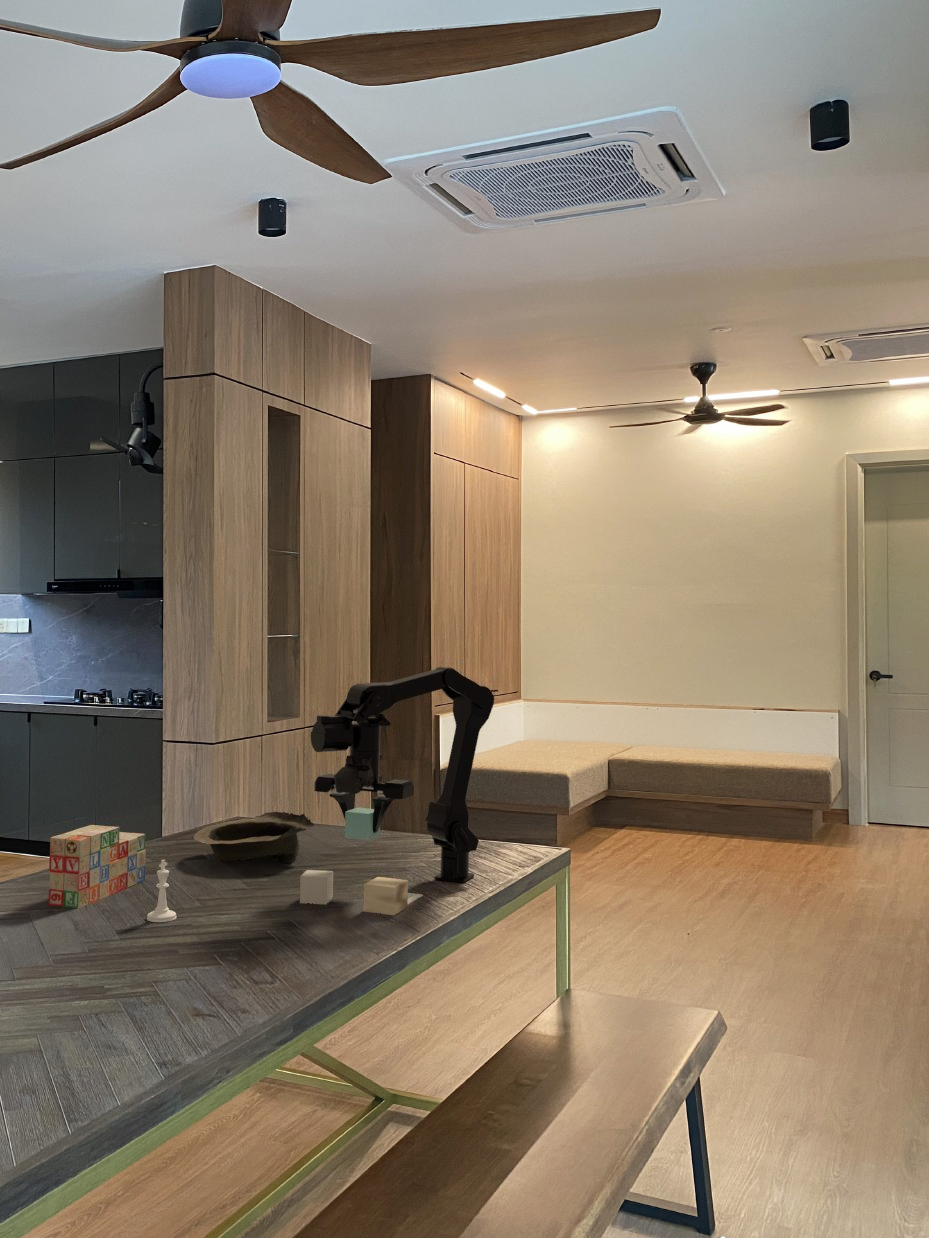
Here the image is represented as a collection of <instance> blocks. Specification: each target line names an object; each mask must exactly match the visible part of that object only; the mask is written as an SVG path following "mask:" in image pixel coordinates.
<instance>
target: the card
mask: <svg viewBox="0 0 929 1238" xmlns="http://www.w3.org/2000/svg"><path fill="white" fill-rule="evenodd" d="M423 896H424V894H421V893H413V892H412V893H411V892H408V902H407V905H410V904H412V903H413V902H415V901H417V900H418V899H420V898H422V897H423Z"/></svg>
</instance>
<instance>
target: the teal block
mask: <svg viewBox="0 0 929 1238" xmlns="http://www.w3.org/2000/svg"><path fill="white" fill-rule="evenodd" d="M373 817H374V808H365V807H355V808H354V809H351V810H349V811H346V812H345V819H344V838H345V839H350V840H351V839H353V840H362V841H370V840H373V839H375V838H378V837H380V836H381V826H380V827H379V829H378V832H377V833H373Z"/></svg>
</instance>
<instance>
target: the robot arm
mask: <svg viewBox="0 0 929 1238" xmlns="http://www.w3.org/2000/svg"><path fill="white" fill-rule="evenodd" d="M438 690H441V691H442V692H443V694H444V695H445V696H447V697H448V698H449V699H450V700H452V713H453V714H452V715H453V719H454V722H455V729H454V735H453V739H452V745H451V750H450V754H449V759H448V763H447V768H446V773H445V774H446V775H445V779H444V782H443V783H444V784H443V787H442V791H441V792H442V793H441V794H440V797H439V798H438V799H437V801H436V802H435V801H429V804H428V813H427V816H426V818H425V820H424V821H425V822H427V824H426V830H427V831H428V833H429V835H430V836H431V837H432V840H433V844H434V845H435V846H439V847H440V873H438V874H436V875H435V876H433V877H434V880H437V881H438V880H439V881H445V882H446V881H449V882H455V883H456V882H457V883H465V882H467V881H469V880H470V879H471V878H473V877H474V876H475V873H472V872H469V871H470V866H469V865H470V853H471V852H474V851H477V848H478V845H479V839H478V837H476V835H475V834H474V833H473V832H472V831H471V830H470V829H469V823H470V821H469V820H470V813H469V809H468V806H467V805H468V804H467V801H466V799H467V793H468V789H469V784H470V779H471V774H472V769H473V765H474V759H475V754H476V750H477V745H478V739H479V735H480V731H481V730H482V728H483V727H484V725H485V724H486V722H488V720H489V718H490V715H491V714H492V710H493V707H494V705H495V695H494V694H493V692H492V690H491V689H490V688H489V687H488V686H485V685H480V684H479V683H477V682H476V681H474V680H472V679H470V678H468V677H466V676H465V675H463V674H461V673H460V672H458V670H456V669H455V668H453V667H449V666H448V667H445V666H438V667H436V668H434V669H431V670H427V671H425V672H421V673H418V674H413V675H410V676H409V675H408V676H405V677H403V678H400V679H399V678H398V679H396V680H391V681H386V682H382V681H381V682H364V683H362V682H361V683H355V684H353V685H352V686H351V687H350V688H349V690H348V692H347V696H346V699H344V702H343V703H342V704H341V706H340V707H339V709H338V710H337V712H336V713H335V715H322V714H320V715H317V716H316V722H315V723H314V724H313V726H312V730H311V731H310V743H311V746H312V748H313V750H314V752H316V753H326V752H327V753H328V752H344V751H347V750H348V749H349V755H346V758H345V765H344V766H343V767H340V769H338V771H337V772H336V773H334V774H333V773H326V774H323V775H319V776H317V777H316V778H315V781H314V784H313V785H314V786H313V788H314V791H313V792H316V793H317V792H319V793H329V792H330V793H329V794H328V795H329V797H330V798H333V799H334V800H335V801H336V802H337V803H338V805H339V807H340V809H341V810H340V811H341V812H342V816H343V819H344V820H345V812H346V811H349V810H351V809H354V808H356V805H355V803H356V795H358V794H359V793H361V792H372V793H377V796H376V797H373V798H371V800H372V804H373V809H374V817H373V833H377V832H378V829H379V827H380V828H381V825H382V822H383V820H384V817H385V815H386V813H387V811H388V810H389V808H390V805H391V804H392V803H393V801H396V800H404V799H406V798H410V797H411V796H414V792H415V791H414V790H415V786H414V784H413V782H412V780H407V779H392V780H389V781H385V782H382V781H383V776H382V775H380V761H382V760H383V753H381V749H380V748H381V727H390V726H391V725H392V723H391V721H389V720H388V719H387V718H386V717H385V715H384V713H383V712H385V711H387V710H389V709H391V708H392V707H393V706H394V705H396V704H398V703H399V702H402V701H405V700H409V699H411V698H416V697H419V696H423V695H426V694H429V693H433V692H437V691H438Z"/></svg>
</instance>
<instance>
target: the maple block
mask: <svg viewBox="0 0 929 1238" xmlns="http://www.w3.org/2000/svg"><path fill="white" fill-rule="evenodd" d="M408 893H409V880H407V879H399V878H394V877H393V878H391V877H383V876H377V877H375V878H373V879H371V880H369V881H367V882H365V883H363V908H362V911H363V912H365V913H373V914H380V913H381V915H386V916H387V915H389V916H396V915H398V914H399V913H400V912H401V911H404V910H405V909H406V908H408V904H407V902H408Z"/></svg>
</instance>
